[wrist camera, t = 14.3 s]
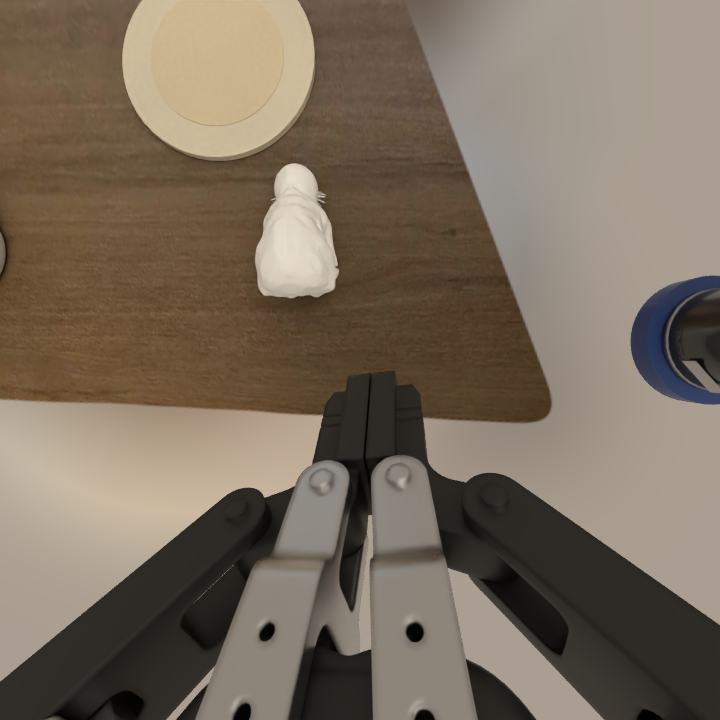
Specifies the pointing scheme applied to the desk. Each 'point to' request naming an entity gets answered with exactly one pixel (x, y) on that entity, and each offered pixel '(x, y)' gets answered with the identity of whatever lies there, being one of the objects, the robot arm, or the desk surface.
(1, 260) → the ramekin
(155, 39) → the plate
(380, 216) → the desk surface
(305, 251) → the white animal figurine
